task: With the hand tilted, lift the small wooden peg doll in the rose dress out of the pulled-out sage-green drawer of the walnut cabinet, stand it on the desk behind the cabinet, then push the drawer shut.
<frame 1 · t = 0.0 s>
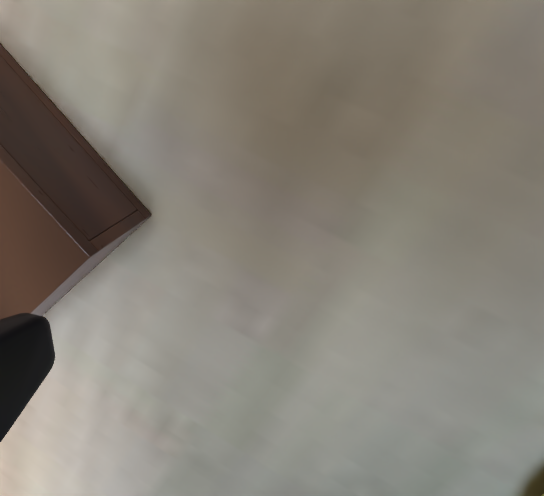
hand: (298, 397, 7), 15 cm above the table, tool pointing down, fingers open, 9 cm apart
cabinet: (6, 196, 26), on the table
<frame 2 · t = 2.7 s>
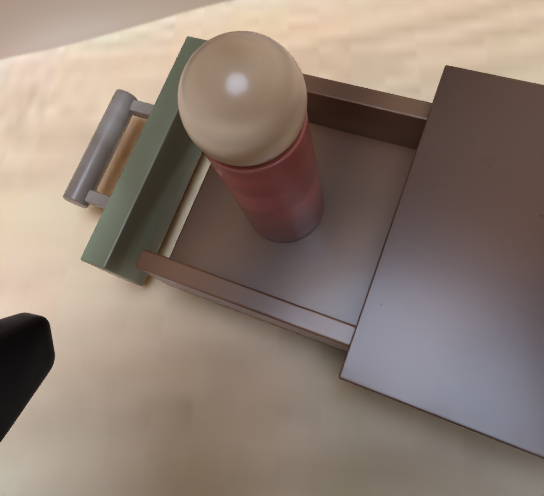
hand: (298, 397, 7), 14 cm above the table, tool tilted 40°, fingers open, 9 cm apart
cabinet: (541, 298, 20), on the table
doll: (285, 206, 21), point 2 cm above the table, touching drawer
drawer: (235, 185, 21), point 3 cm above the table, slide at 10.0 cm, touching doll
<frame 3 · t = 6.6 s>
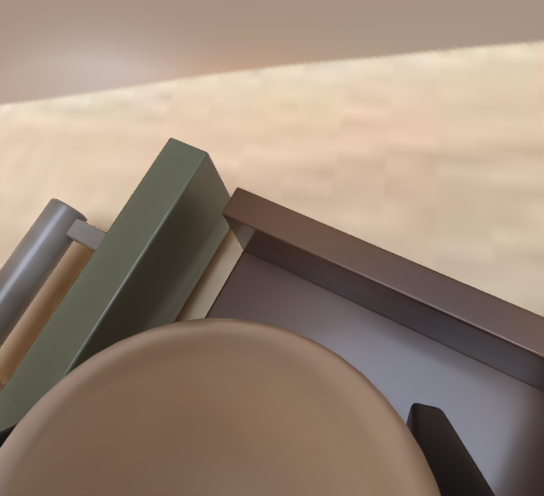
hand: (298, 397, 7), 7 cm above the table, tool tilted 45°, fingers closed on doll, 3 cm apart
doll: (305, 469, 11), point 2 cm above the table, touching drawer, gripper
drawer: (218, 421, 11), point 3 cm above the table, slide at 10.0 cm, touching doll
when the fingers open (5 cm above the table, at t = 14.3 s): doll stays where it is, on the table.
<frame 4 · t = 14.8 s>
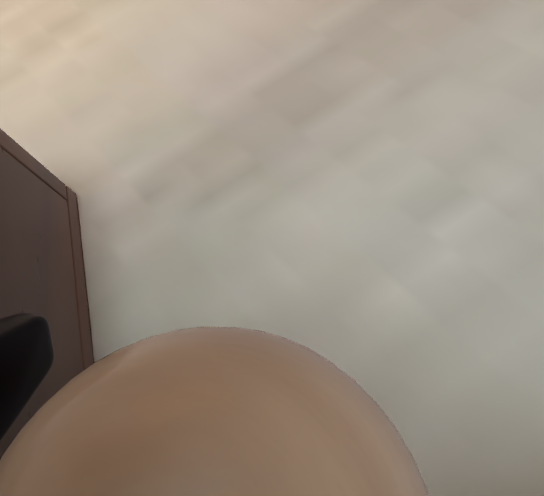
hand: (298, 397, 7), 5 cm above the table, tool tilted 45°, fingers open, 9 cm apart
doll: (302, 471, 11), on the table
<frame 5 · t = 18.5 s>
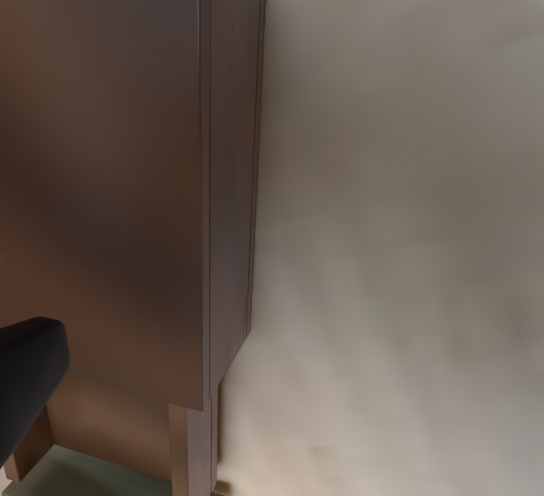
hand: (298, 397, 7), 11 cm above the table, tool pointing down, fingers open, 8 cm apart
cabinet: (117, 169, 20), on the table
drawer: (110, 451, 23), point 3 cm above the table, slide at 10.0 cm
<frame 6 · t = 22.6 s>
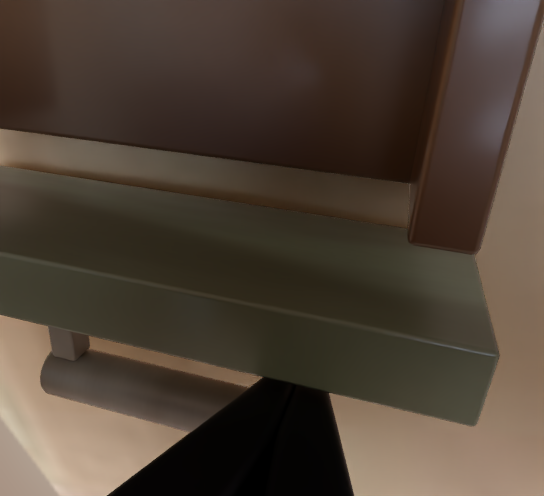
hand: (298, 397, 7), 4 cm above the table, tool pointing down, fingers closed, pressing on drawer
drawer: (140, 34, 7), point 3 cm above the table, slide at 9.3 cm, touching gripper
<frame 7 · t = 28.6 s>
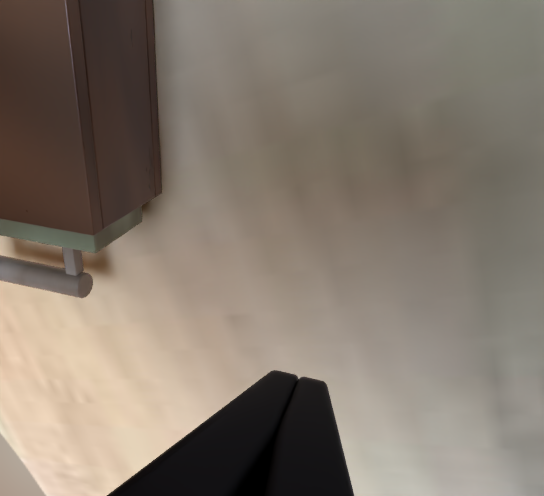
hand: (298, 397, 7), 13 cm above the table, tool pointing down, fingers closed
cabinet: (25, 26, 20), on the table
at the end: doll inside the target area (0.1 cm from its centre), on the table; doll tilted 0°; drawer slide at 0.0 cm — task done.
